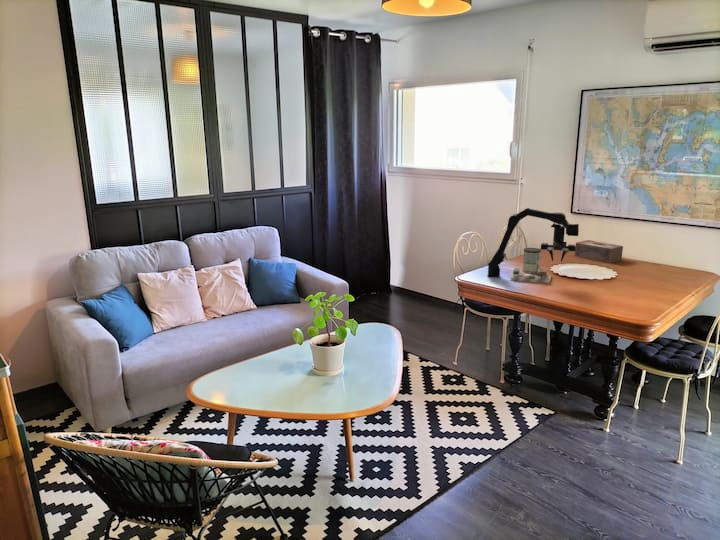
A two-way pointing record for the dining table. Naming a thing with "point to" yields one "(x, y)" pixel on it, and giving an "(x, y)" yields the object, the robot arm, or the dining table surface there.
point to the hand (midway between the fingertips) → (556, 261)
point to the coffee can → (531, 260)
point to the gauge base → (529, 277)
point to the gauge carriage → (540, 272)
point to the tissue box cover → (599, 251)
